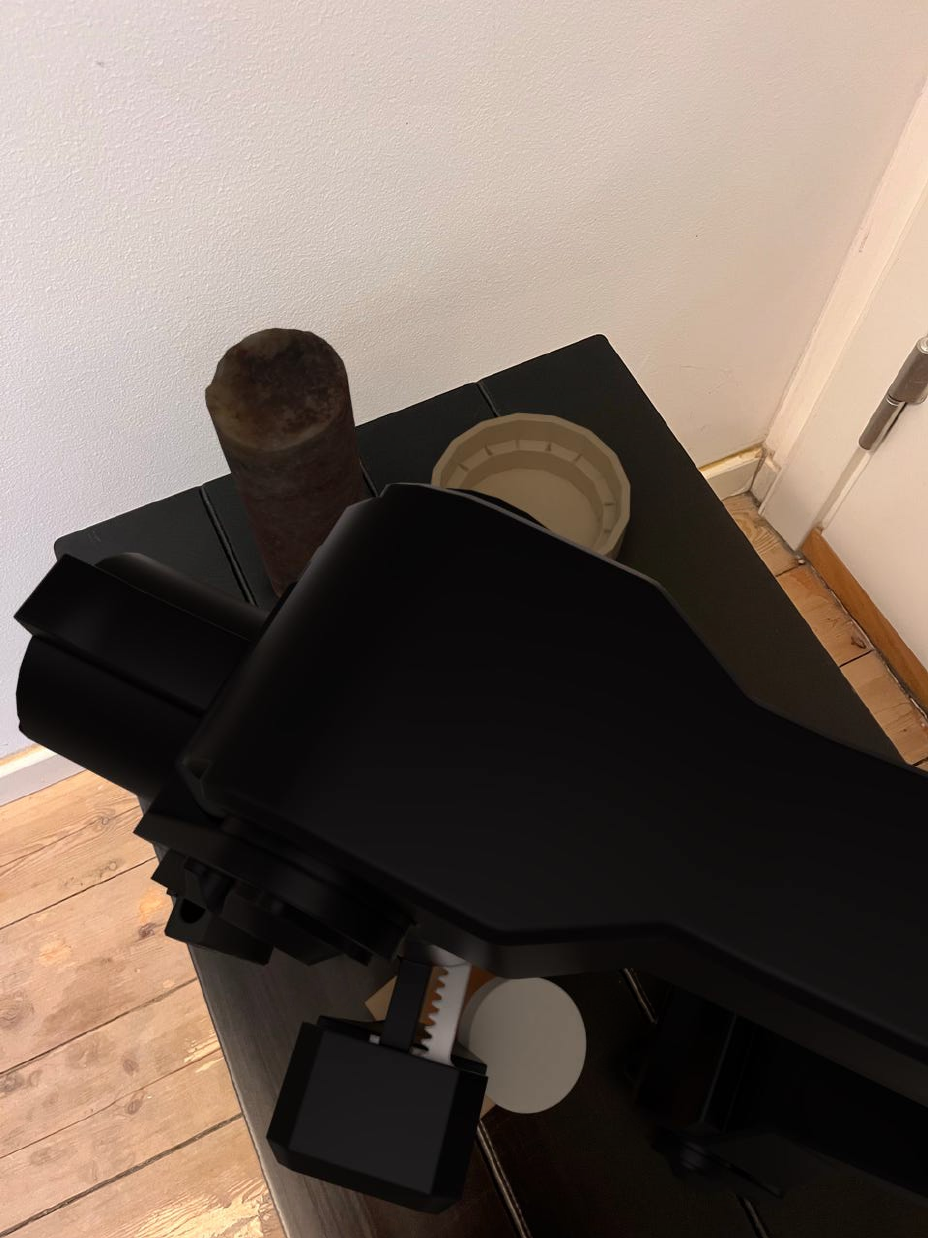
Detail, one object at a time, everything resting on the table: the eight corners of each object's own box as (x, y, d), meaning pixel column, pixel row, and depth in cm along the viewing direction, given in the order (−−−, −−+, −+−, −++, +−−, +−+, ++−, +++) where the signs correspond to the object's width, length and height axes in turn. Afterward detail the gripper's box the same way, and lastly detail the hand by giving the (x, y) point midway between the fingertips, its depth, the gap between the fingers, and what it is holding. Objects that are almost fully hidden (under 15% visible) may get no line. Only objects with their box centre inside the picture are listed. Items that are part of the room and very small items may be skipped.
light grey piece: (540, 1023, 40) (610, 1052, 33) (463, 1095, 38) (519, 1144, 31) (480, 939, 41) (537, 950, 33) (402, 1007, 39) (443, 1034, 32)
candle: (402, 563, 61) (375, 361, 43) (340, 643, 58) (284, 463, 40) (314, 513, 63) (253, 300, 45) (251, 589, 60) (158, 395, 42)
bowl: (657, 544, 62) (672, 504, 57) (515, 651, 58) (519, 618, 54) (534, 428, 66) (539, 383, 62) (395, 521, 63) (390, 480, 58)
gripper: (276, 502, 29) (341, 681, 43) (7, 1124, 21) (194, 1097, 35) (604, 574, 28) (562, 735, 42) (450, 1270, 20) (461, 1181, 34)
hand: (448, 915), depth 38 cm, fingers open, 9 cm apart
